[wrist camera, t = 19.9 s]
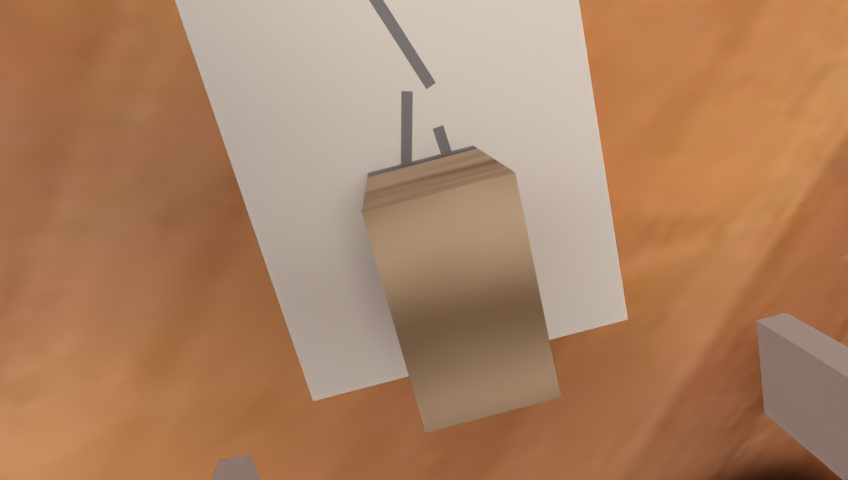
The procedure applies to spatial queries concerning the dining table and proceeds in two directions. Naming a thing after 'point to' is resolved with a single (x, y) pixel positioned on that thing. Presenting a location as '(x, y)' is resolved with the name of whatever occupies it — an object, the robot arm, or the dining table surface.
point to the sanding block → (460, 286)
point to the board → (402, 150)
